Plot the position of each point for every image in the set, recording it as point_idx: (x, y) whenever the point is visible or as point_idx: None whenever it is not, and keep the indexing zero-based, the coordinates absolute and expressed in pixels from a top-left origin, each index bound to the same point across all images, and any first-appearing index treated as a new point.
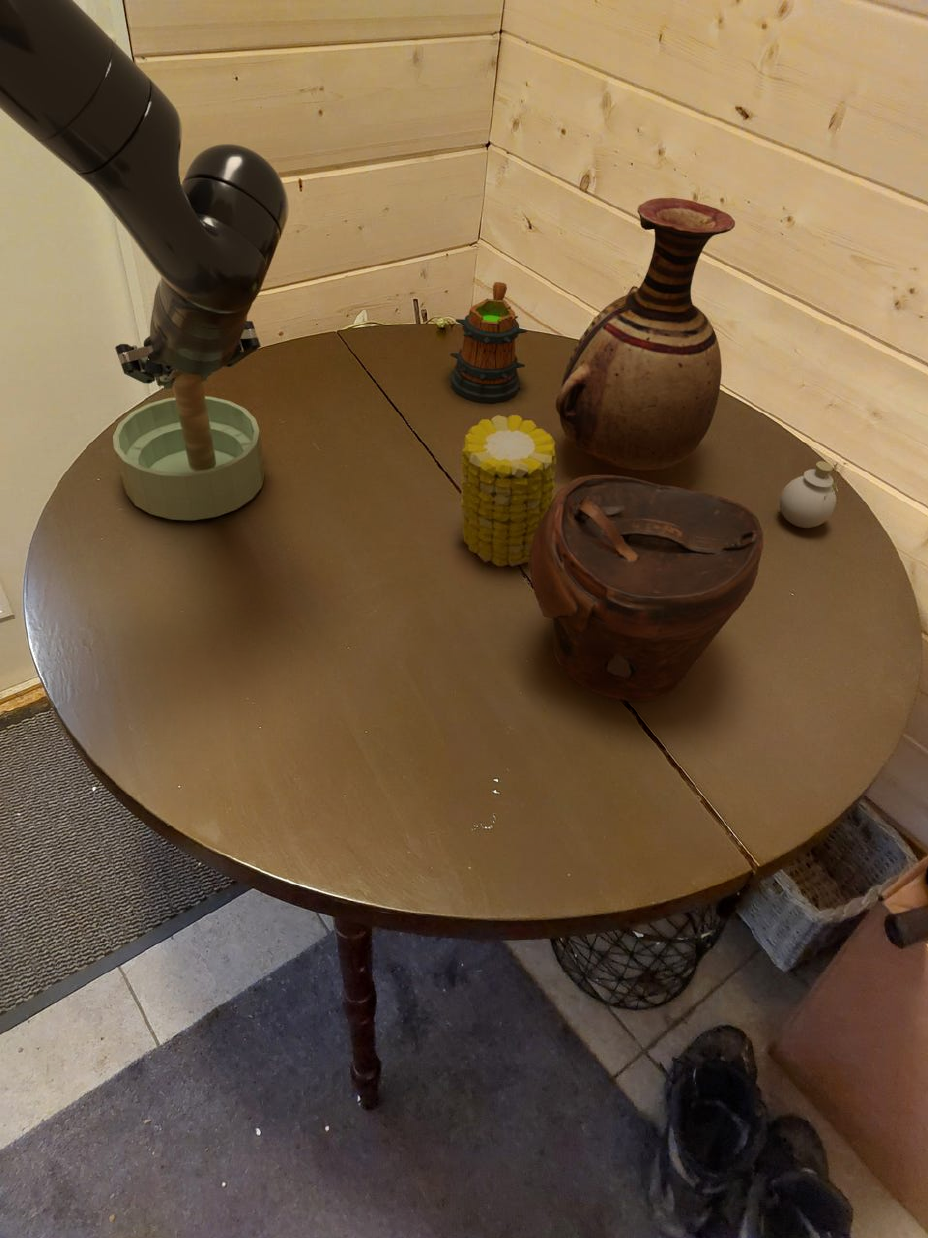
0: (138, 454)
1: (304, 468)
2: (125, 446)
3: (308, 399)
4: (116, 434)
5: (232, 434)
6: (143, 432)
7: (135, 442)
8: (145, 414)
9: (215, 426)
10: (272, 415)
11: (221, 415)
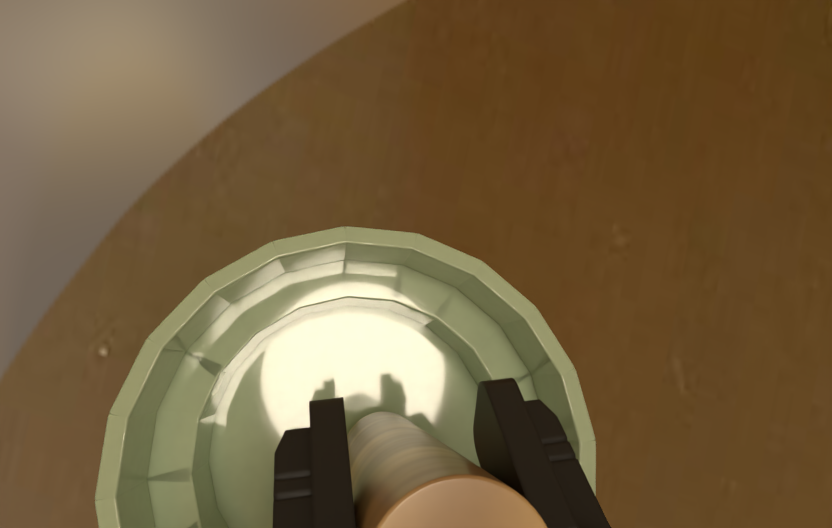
0: (204, 399)
1: (631, 464)
2: (165, 381)
3: (699, 162)
4: (123, 405)
5: (495, 373)
6: (242, 294)
7: (209, 332)
8: (255, 276)
9: (456, 316)
10: (600, 202)
11: (487, 305)
